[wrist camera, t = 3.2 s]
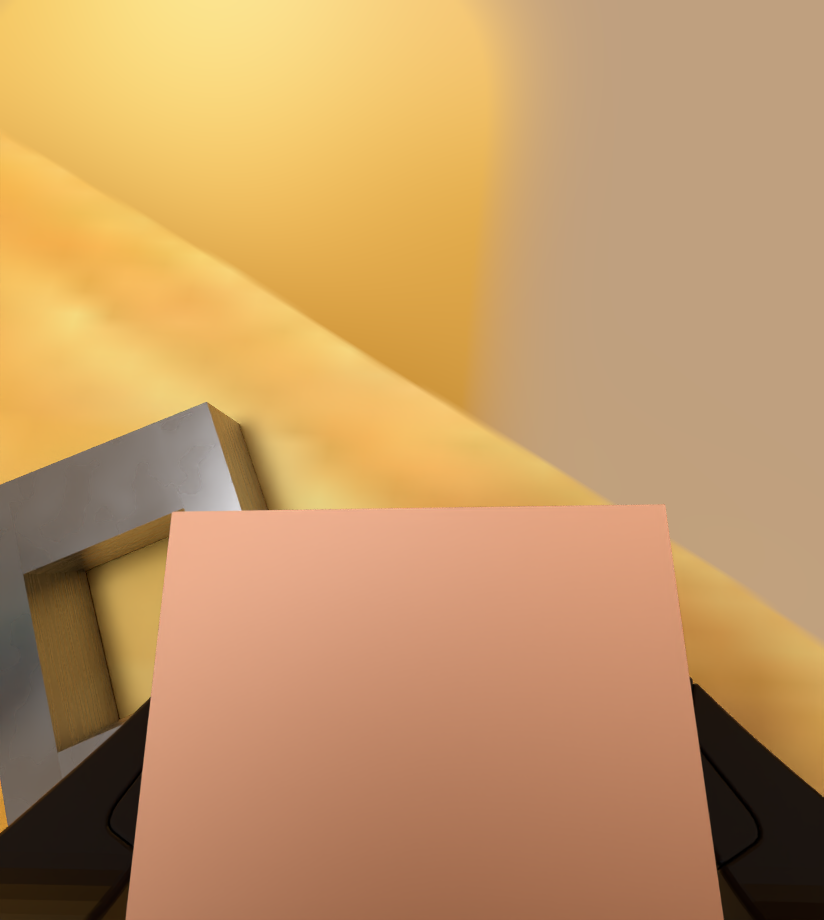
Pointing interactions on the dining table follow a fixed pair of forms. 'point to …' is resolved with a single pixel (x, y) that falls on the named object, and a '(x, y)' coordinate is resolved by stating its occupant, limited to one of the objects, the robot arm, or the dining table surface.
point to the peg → (422, 720)
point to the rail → (66, 587)
